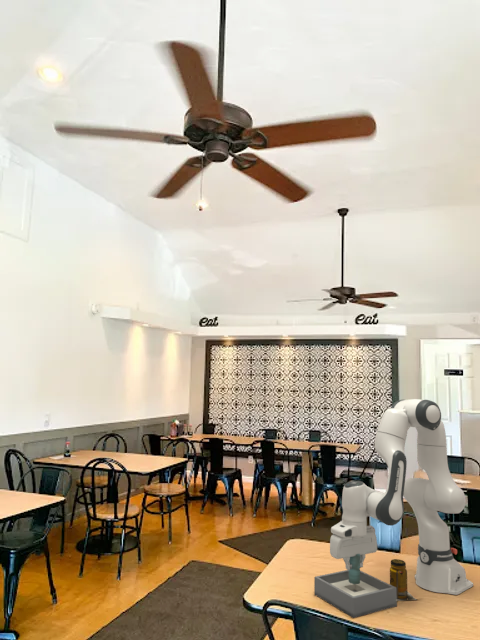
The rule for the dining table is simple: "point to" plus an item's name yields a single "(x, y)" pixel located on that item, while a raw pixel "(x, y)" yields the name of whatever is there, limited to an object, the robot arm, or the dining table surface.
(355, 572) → the peg
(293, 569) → the dining table surface
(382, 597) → the socket box
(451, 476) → the robot arm
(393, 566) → the condiment
